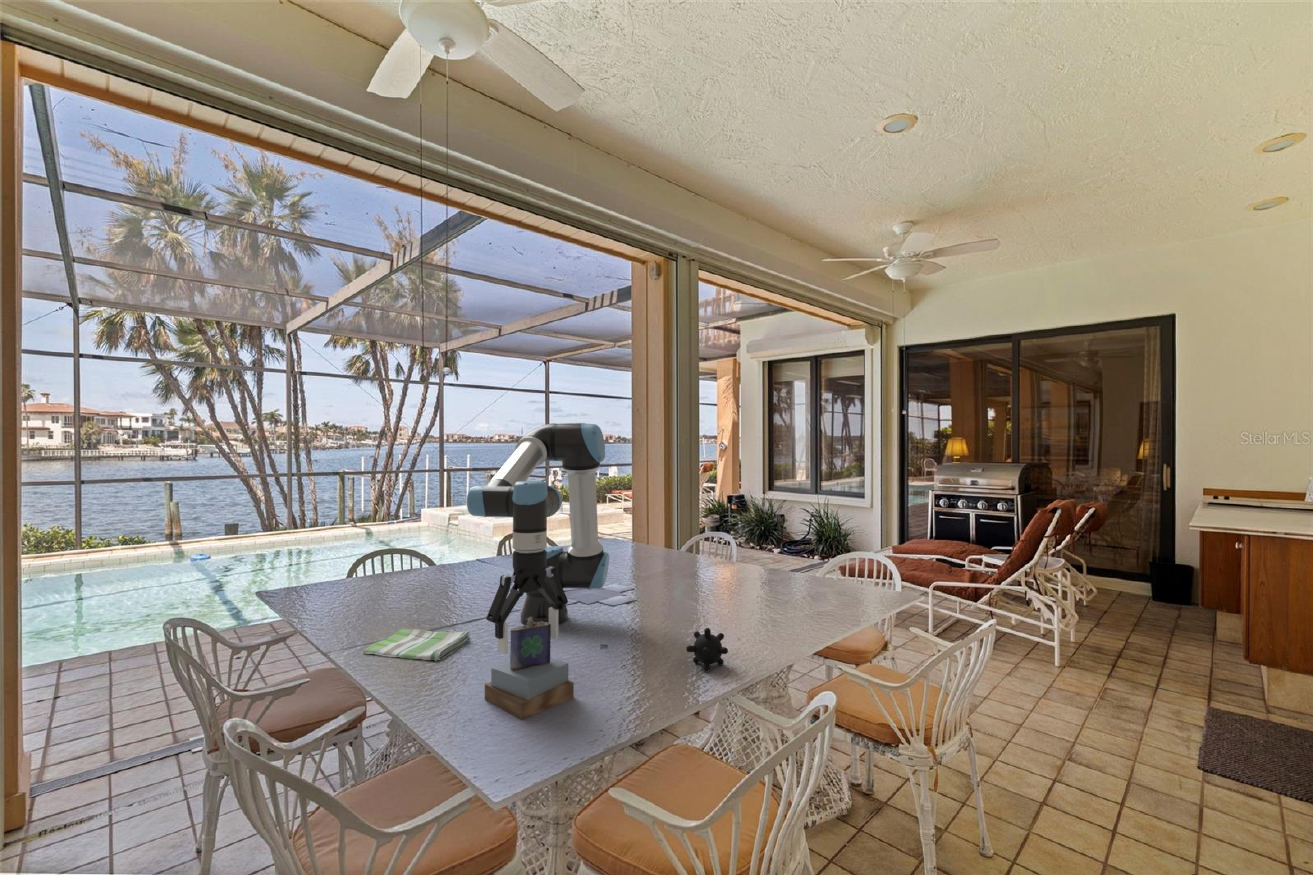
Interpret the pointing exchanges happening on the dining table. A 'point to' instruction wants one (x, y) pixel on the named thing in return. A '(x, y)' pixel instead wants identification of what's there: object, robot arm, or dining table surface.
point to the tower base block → (528, 707)
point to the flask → (530, 645)
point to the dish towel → (420, 644)
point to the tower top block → (529, 678)
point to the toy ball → (707, 648)
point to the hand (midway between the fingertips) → (529, 644)
